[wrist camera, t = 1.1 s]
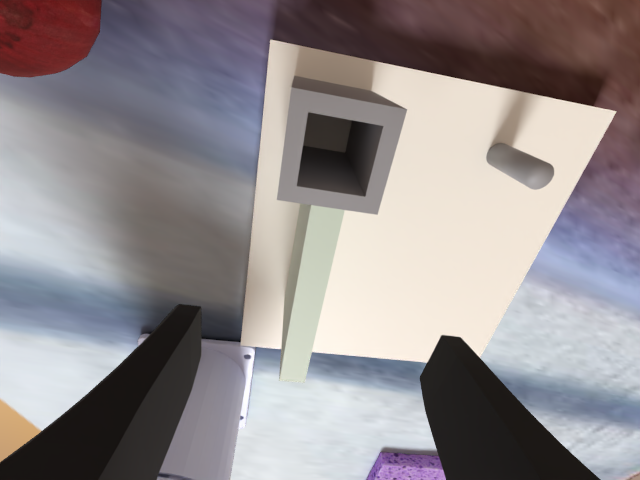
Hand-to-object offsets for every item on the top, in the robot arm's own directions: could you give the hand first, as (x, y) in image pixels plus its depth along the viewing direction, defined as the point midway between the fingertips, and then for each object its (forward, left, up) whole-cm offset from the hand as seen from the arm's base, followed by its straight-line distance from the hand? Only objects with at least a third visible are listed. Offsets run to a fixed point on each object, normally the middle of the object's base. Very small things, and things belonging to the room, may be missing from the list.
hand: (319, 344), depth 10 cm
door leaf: (0, 0, -10) cm, 9 cm away
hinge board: (-1, -5, -11) cm, 12 cm away
